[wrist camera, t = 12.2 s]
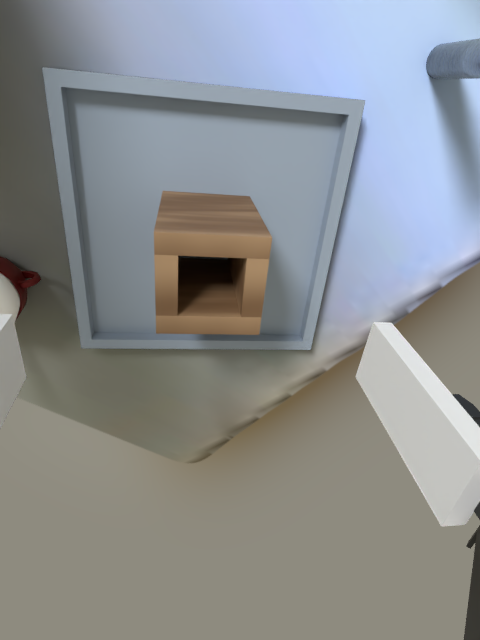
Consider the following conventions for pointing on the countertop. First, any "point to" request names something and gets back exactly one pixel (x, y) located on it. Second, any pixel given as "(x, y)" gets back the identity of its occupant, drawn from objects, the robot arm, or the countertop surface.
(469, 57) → the rod
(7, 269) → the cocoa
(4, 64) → the countertop surface
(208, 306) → the wooden hollow block
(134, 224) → the tray
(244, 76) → the countertop surface
